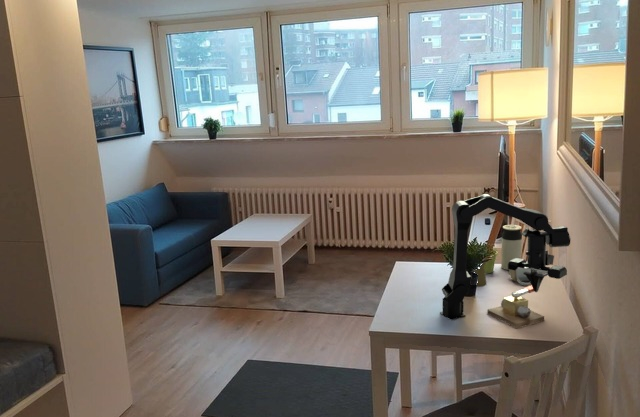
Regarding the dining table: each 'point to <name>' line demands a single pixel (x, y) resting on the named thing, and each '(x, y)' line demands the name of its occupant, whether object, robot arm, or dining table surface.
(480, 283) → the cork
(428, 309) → the dining table surface
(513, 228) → the travel mug
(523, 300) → the ball valve
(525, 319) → the valve board
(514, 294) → the valve lever
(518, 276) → the ceramic mug
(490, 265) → the plant pot
